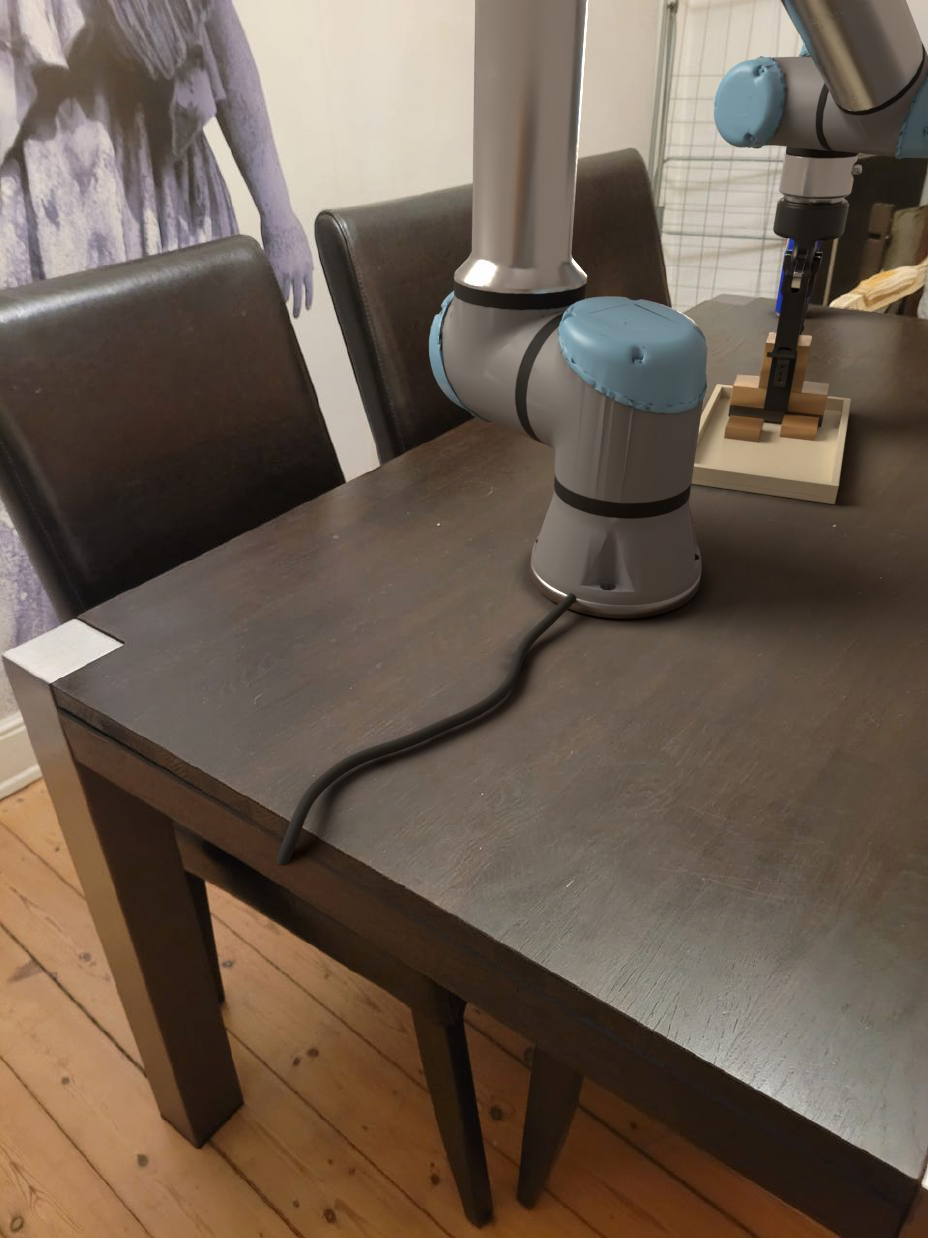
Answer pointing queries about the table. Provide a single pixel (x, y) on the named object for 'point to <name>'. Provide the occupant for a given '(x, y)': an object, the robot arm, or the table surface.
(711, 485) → the tray
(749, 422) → the chip
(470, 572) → the table surface
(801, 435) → the chip
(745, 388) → the brush
